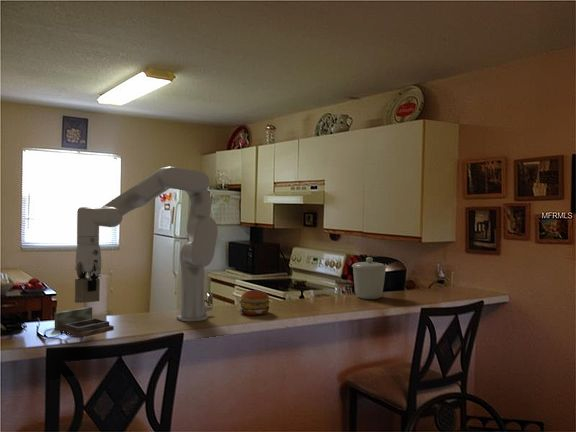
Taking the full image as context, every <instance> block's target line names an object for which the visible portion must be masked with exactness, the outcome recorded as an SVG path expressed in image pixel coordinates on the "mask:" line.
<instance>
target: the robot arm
mask: <svg viewBox="0 0 576 432" xmlns="http://www.w3.org/2000/svg"><path fill="white" fill-rule="evenodd" d="M210 184H211V180H210V177H209V176H208V174H206V173H205V172H204V171H199V170H193V169H189V168H188V169H187V168H183V167H177V166H166V167H161V168H159V169H157V170H155V171H154V172H153V173H151V174H150V175H148V176H147V177H145V178H144V179H142V180H141V181H140V182H138V183H136V184H134V186H131V187H130V188H129V189H127V190H126V191H124V192H123V193H121V194H119V195H118V196H116V197H115V198H113V199H112V200H110V201H109V202H108V203H105V204H104V205H103V206H101V207H99V208H98V207H94V206H82V207H79V208H78V209H77V211H76V212H77V213H76V245H77V246H76V250H75V251H76V252H75V267H74V269H75V271H76V272H77V264H78V263H79V262H81V274H80V277H78V276H77V279H85V278H89V281H88V292H91V291H96V288H97V279H98V278H99V275H100V274H101V273H102V252H101V245H100V227H104V228H105V227H106V228H115V227H118V226H119V225H121V223H122V221H123V219H124V218H123V217H124V216H125V215H127V214H128V213H129V212H131V211H134V210H136V209H138V208H142V207H145V206H147V205H149V204H150V203H151V202H152V201H154V200H155V199H156V198H158V197H159V196H161V195H162V194H164V193H165V192H167V191H168V190H170V189H174V190H179V191H184V192H186V194H187V195H188V197H189V202H190V203H189V204H190V206H189V210H188V211H189V212H188V219H187V222H186V223H187V224H186V232H187V234H188V236H189V237H192V238H193V241H187V242H186V243H184V244H183V246H182V247H181V249H180V252H179V259H180V271H181V274H180V275H181V278H180V280H181V281H180V283H181V285H180V286H181V287H180V289H181V290H180V313H178V314H177V315H176V319H177V320H179V321H180V322H181V321H183V322H200V321H204V320H207V319H208V318H209V314H208V313H207V312H211V311H212V310H213V306H212V305H210V306H209V305H208V306H206V305H205V290H206V289H205V288H206V287H205V286H206V284H205V283H206V273H205V268H206V267H208V266H209V265H210V264H211V263H212V262H213V259H214V256H215V251H216V245H217V237H218V233H219V232H218V225H217V222H216V221H215V220H214V218H213V217H211V209H212V197H211V194H210V192H209V190H208V189H209V188H210V186H211V185H210ZM87 276H88V277H87ZM97 277H98V278H97Z"/></svg>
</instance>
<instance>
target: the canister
mask: <svg viewBox="0 0 576 432" xmlns="http://www.w3.org/2000/svg"><path fill="white" fill-rule="evenodd" d="M373 260H374V258H373V257H371V256H369V257H366V258H365V261H359V262H355V263H353V264H352V265H351V267H352V270H353V271H352V274H353V283H354V291H355V292H354V293H355V296H356V297H358V299H363V300H377V299H380V298H381V297H382V295H383V292H384V286H385V278H386V271H387V269H388V266H386V265H385V264H384V263H380V262H376V261H373Z"/></svg>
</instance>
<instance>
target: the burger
mask: <svg viewBox="0 0 576 432" xmlns="http://www.w3.org/2000/svg"><path fill="white" fill-rule="evenodd" d="M270 303H271V301H270V296H269V295H268V294H267V293H266V292H264V291H261V290H257V289H256V290H255V289H254V290H248V291H246V292H243V294H241V296H240V300H239V304H240V305H239V307H238V309H239V313H240V314H241V313H242V314H245V315H250V316H260V315H261V316H262V315H265V314H268V312H269V311H270Z"/></svg>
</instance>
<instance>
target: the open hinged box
mask: <svg viewBox="0 0 576 432" xmlns="http://www.w3.org/2000/svg"><path fill="white" fill-rule="evenodd" d="M114 327H115V326H114V325H111V324H110V321H108V320H105V319H100V318H96V317H94V318H93V307H92V306H86V307H79V308H75V309H68V310H62V311H57V312H54V330H55V329H57V330H56V331H58V330H61V331H64V332H68V333H70V334H71V336H74V337H77V338H79V337H80V338H81V337H84V336H85V337H86V336H89V335H90V336H91V335H94V334H98V333H103V332H107V331H113V330H114ZM61 331H60V332H61ZM64 332H63V333H64ZM70 334H69V335H70Z"/></svg>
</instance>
